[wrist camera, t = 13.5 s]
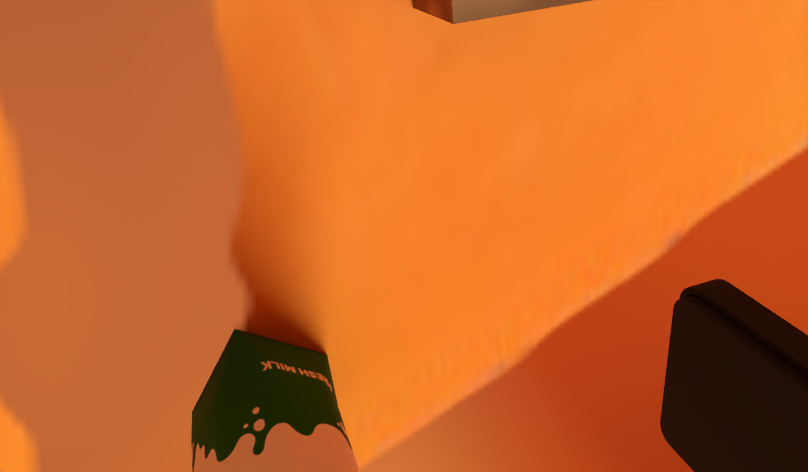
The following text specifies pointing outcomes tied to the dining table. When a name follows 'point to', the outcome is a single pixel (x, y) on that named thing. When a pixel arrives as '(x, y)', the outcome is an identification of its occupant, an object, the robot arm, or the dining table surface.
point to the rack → (482, 8)
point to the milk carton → (269, 412)
